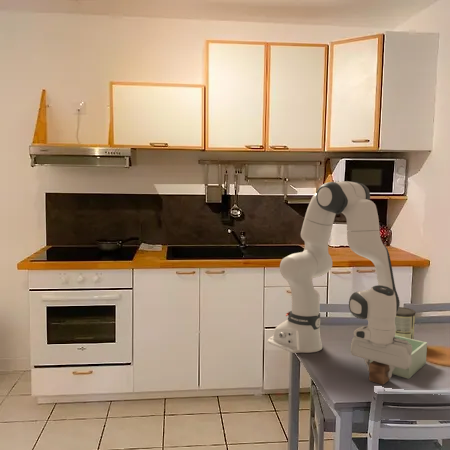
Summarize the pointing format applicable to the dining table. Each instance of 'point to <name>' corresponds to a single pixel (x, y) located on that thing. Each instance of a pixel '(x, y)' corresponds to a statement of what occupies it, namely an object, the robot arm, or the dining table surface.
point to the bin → (417, 358)
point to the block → (378, 372)
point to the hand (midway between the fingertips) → (379, 374)
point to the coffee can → (405, 323)
